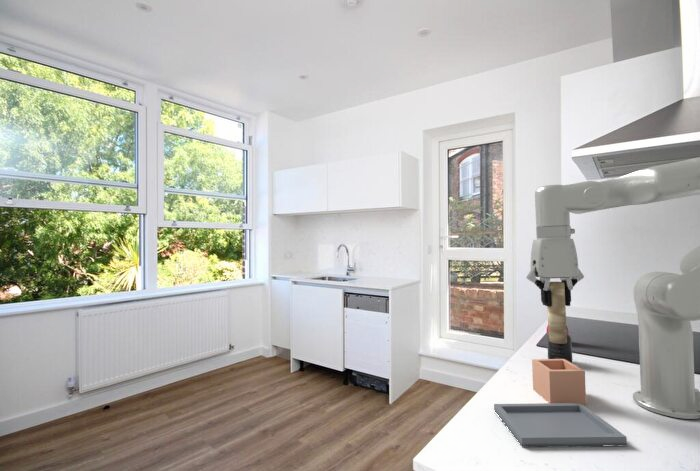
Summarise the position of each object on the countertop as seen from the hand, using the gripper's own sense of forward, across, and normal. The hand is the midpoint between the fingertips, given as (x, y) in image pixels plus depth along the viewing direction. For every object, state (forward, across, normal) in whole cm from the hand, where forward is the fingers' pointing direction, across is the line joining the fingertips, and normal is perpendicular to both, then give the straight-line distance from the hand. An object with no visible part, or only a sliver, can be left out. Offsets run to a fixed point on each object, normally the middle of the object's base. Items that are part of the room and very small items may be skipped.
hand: (556, 304), depth 89 cm
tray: (+23, +9, +14) cm, 29 cm away
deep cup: (+23, 0, 0) cm, 23 cm away
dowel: (+9, 0, 0) cm, 9 cm away
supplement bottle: (+24, -14, -24) cm, 36 cm away
